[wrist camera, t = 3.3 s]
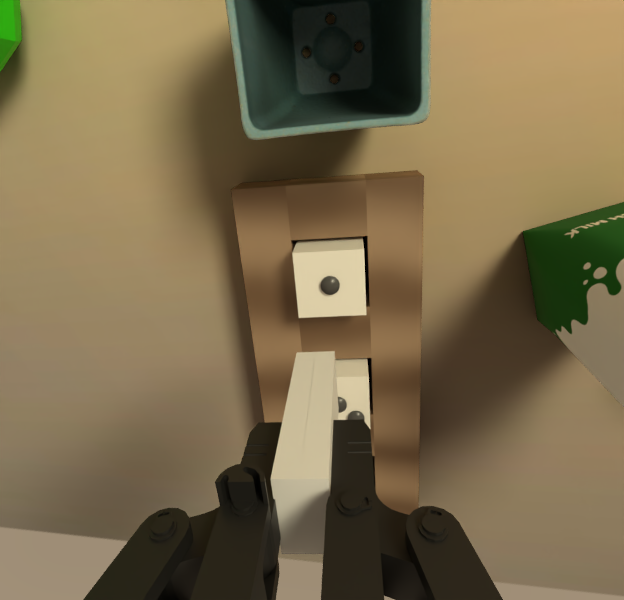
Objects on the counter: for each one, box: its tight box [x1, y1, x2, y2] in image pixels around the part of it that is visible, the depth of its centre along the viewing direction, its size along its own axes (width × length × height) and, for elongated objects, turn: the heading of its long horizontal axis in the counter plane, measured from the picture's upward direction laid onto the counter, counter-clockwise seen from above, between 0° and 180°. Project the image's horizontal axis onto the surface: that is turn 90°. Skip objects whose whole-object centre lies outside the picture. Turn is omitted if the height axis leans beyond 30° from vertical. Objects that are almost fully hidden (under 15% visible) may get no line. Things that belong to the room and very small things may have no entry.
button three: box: [335, 358, 371, 429], centre depth 33 cm, size 4×4×4 cm
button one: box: [292, 236, 366, 318], centre depth 29 cm, size 4×4×4 cm
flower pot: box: [225, 0, 431, 140], centre depth 23 cm, size 9×9×9 cm
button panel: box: [231, 170, 424, 515], centre depth 34 cm, size 30×12×3 cm, turn 5°
